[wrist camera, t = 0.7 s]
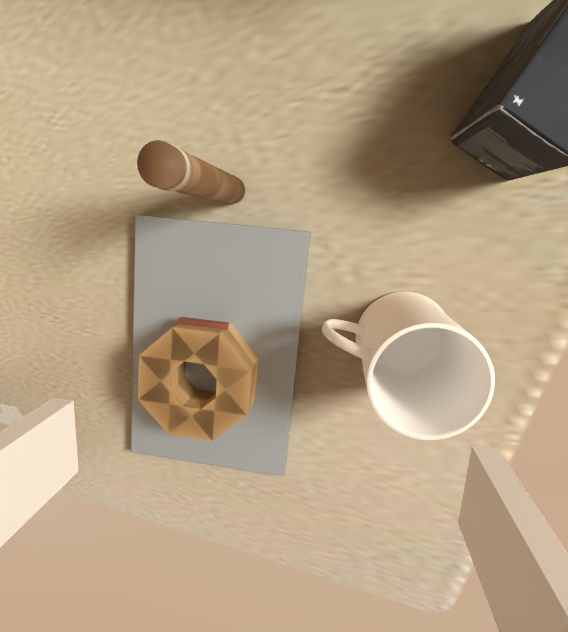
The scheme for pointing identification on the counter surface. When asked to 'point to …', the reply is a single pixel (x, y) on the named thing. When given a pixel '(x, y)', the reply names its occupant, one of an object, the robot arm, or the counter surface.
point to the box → (524, 103)
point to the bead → (179, 393)
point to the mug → (418, 366)
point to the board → (226, 306)
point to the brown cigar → (186, 173)
